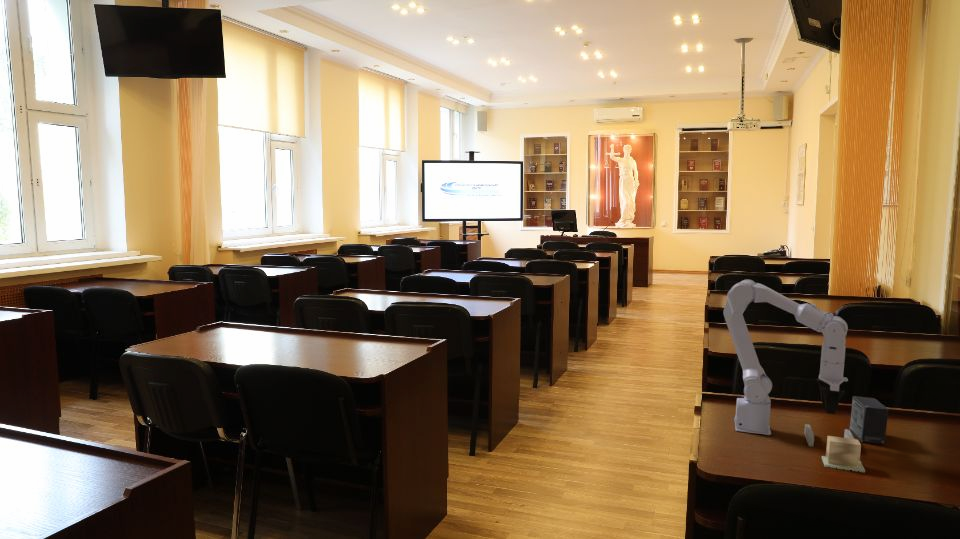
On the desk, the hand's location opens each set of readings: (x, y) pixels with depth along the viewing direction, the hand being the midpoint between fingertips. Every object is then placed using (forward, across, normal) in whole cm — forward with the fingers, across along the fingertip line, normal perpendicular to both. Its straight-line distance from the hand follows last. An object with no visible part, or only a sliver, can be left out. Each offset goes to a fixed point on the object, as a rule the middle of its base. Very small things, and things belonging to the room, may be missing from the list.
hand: (828, 409), depth 183 cm
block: (+9, -15, -2) cm, 18 cm away
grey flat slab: (+10, +1, -1) cm, 10 cm away
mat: (+10, -15, -2) cm, 18 cm away
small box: (+10, +10, -12) cm, 19 cm away
